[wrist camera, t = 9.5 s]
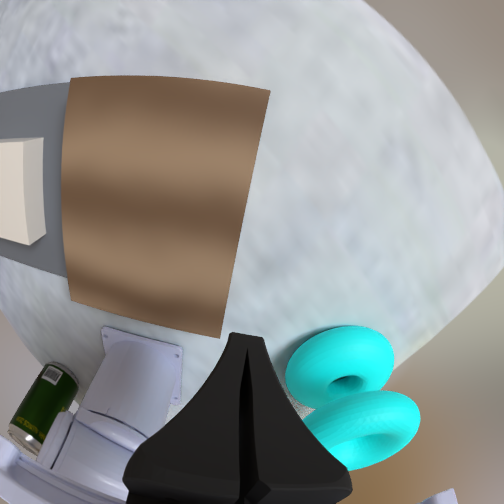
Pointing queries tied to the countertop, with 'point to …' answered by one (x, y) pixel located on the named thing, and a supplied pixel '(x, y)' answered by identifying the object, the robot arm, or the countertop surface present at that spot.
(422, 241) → the countertop surface
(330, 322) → the countertop surface
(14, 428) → the beer can
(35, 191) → the tile
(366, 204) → the countertop surface
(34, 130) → the mat
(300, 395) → the donuts
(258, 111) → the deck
